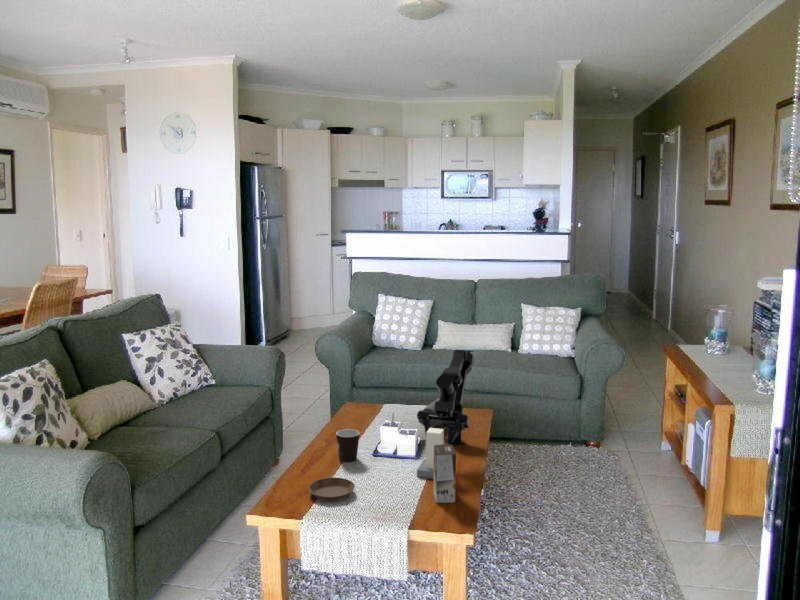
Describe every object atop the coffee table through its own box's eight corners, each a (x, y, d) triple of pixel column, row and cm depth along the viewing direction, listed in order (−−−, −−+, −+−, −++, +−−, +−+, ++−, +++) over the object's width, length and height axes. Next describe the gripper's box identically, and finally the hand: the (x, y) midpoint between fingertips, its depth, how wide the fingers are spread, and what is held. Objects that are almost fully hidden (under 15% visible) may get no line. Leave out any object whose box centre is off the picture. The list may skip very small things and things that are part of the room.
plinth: (424, 466, 246) (424, 459, 246) (451, 469, 244) (451, 462, 243) (416, 476, 237) (417, 469, 237) (445, 480, 234) (445, 473, 234)
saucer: (313, 506, 214) (313, 498, 213) (305, 487, 228) (305, 480, 227) (359, 501, 218) (359, 493, 218) (349, 482, 232) (349, 475, 232)
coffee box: (455, 502, 217) (456, 454, 215) (435, 503, 216) (436, 454, 214) (451, 490, 226) (452, 444, 224) (432, 491, 226) (433, 444, 223)
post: (429, 462, 243) (429, 427, 241) (443, 464, 242) (443, 429, 240) (425, 468, 238) (426, 432, 236) (439, 469, 237) (440, 433, 235)
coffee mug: (356, 464, 248) (356, 437, 246) (333, 462, 249) (333, 436, 248) (364, 452, 259) (364, 427, 257) (342, 451, 261) (342, 425, 259)
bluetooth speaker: (439, 432, 283) (439, 408, 281) (418, 428, 287) (418, 405, 285) (458, 416, 303) (458, 394, 302) (438, 413, 307) (439, 392, 306)
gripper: (418, 389, 250) (410, 428, 241) (468, 393, 245) (461, 433, 236) (423, 403, 259) (415, 441, 250) (472, 408, 254) (465, 447, 245)
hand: (439, 440), depth 245 cm, fingers open, 9 cm apart
